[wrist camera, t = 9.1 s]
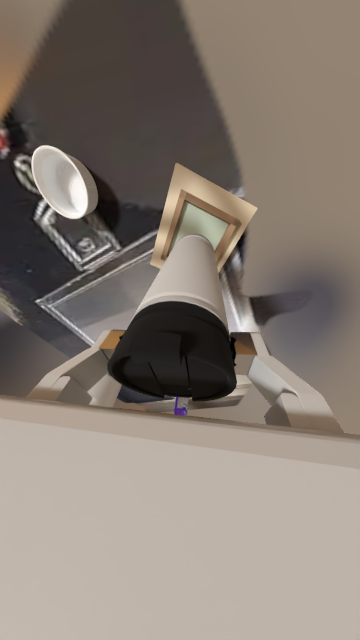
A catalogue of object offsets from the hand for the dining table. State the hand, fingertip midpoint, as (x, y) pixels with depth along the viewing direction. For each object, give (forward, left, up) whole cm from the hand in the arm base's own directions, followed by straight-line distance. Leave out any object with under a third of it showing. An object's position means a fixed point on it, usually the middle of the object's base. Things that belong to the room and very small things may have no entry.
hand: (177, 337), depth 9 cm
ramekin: (-1, +24, -28) cm, 37 cm away
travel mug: (0, 0, -17) cm, 17 cm away
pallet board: (0, 0, -28) cm, 28 cm away
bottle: (-68, -25, -28) cm, 78 cm away
